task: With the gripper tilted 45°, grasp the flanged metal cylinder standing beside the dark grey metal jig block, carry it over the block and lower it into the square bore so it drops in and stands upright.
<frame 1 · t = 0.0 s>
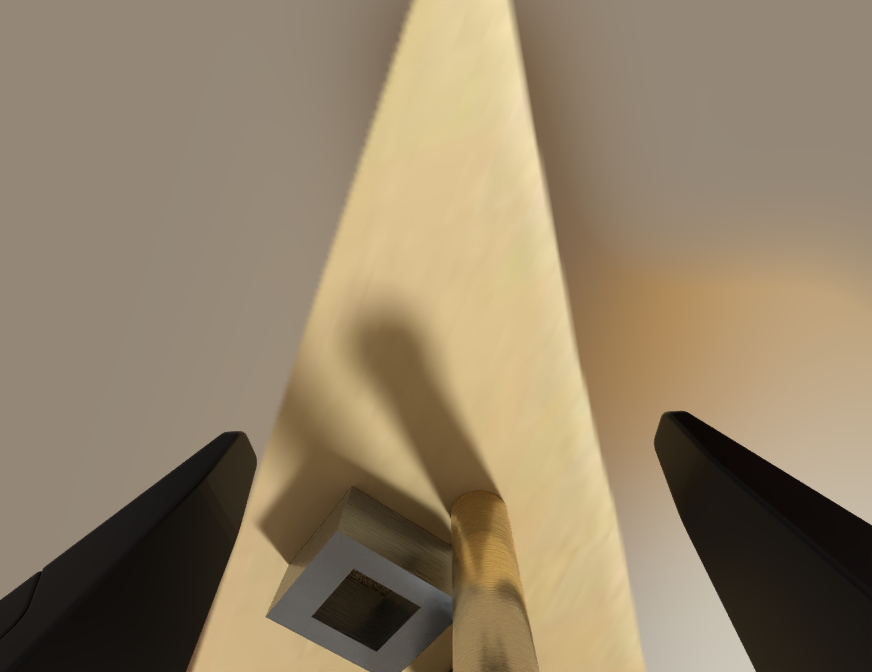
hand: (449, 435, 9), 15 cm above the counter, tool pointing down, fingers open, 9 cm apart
jig: (376, 560, 30), on the counter
flanged metal cylinder: (479, 514, 28), on the counter
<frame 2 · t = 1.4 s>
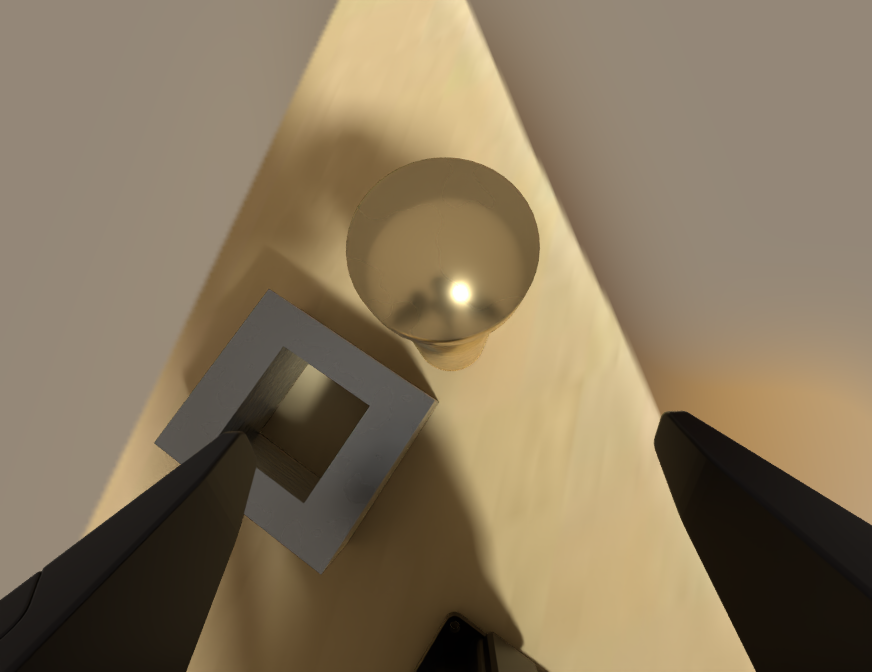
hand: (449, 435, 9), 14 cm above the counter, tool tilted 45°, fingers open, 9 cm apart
jig: (321, 419, 23), on the counter
flanged metal cylinder: (450, 336, 23), on the counter
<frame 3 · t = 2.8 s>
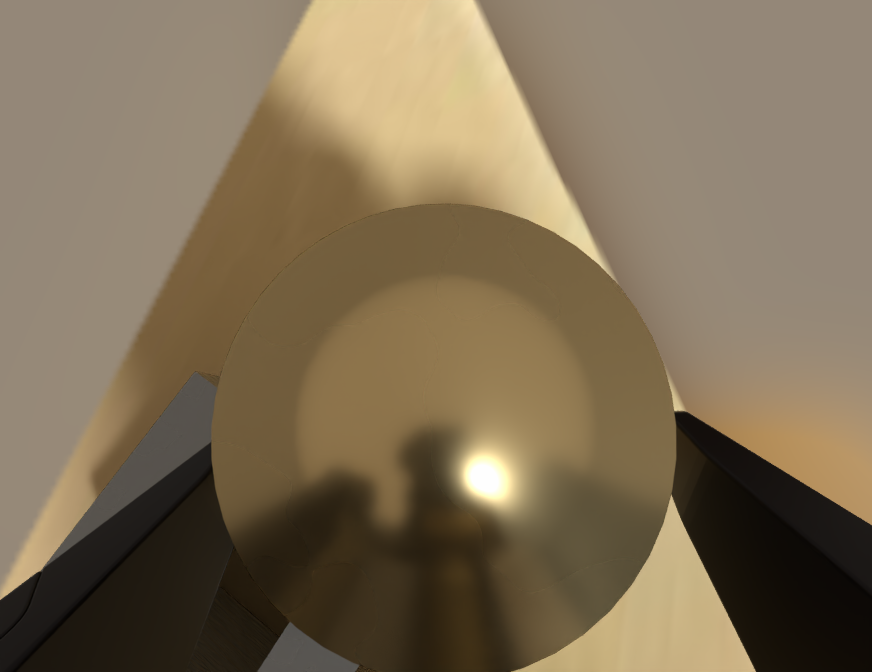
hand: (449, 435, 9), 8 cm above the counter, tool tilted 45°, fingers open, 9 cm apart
jig: (276, 542, 16), on the counter
flanged metal cylinder: (454, 423, 17), on the counter
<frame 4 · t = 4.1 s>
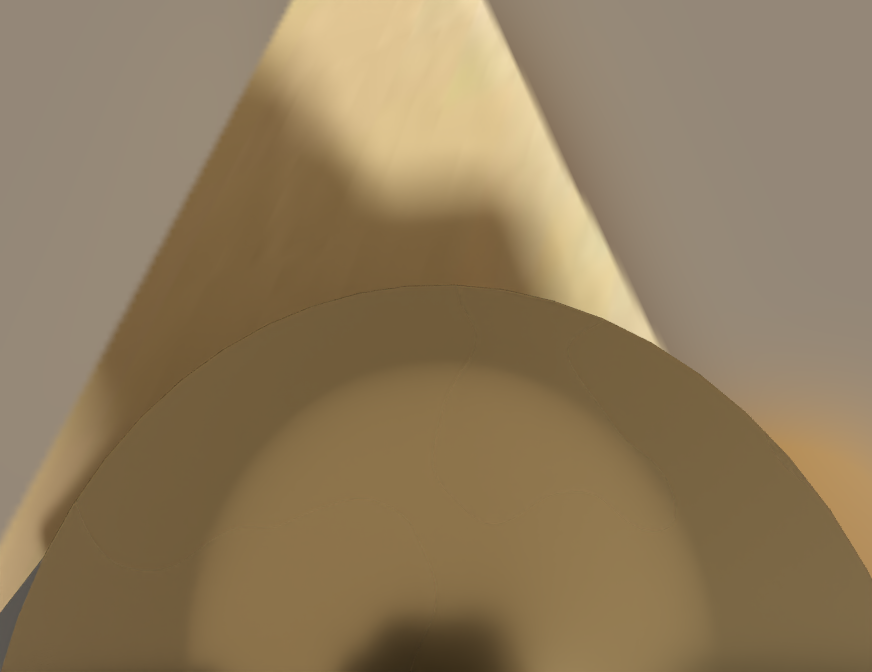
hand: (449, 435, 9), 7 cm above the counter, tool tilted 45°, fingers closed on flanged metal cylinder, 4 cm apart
jig: (251, 609, 14), on the counter
flanged metal cylinder: (455, 470, 15), on the counter, touching gripper
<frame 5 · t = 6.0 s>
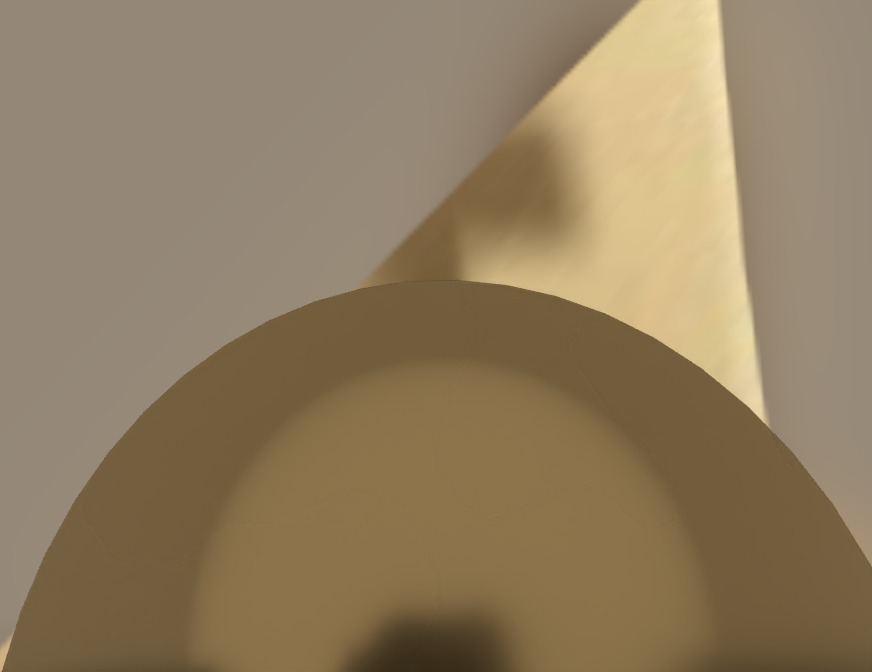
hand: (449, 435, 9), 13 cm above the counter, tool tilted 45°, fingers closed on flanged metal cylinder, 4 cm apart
flanged metal cylinder: (456, 469, 15), point 7 cm above the counter, touching gripper
when the fingers open (7 cm above the counter, at t = 7.9 s): flanged metal cylinder stays where it is, resting in jig.
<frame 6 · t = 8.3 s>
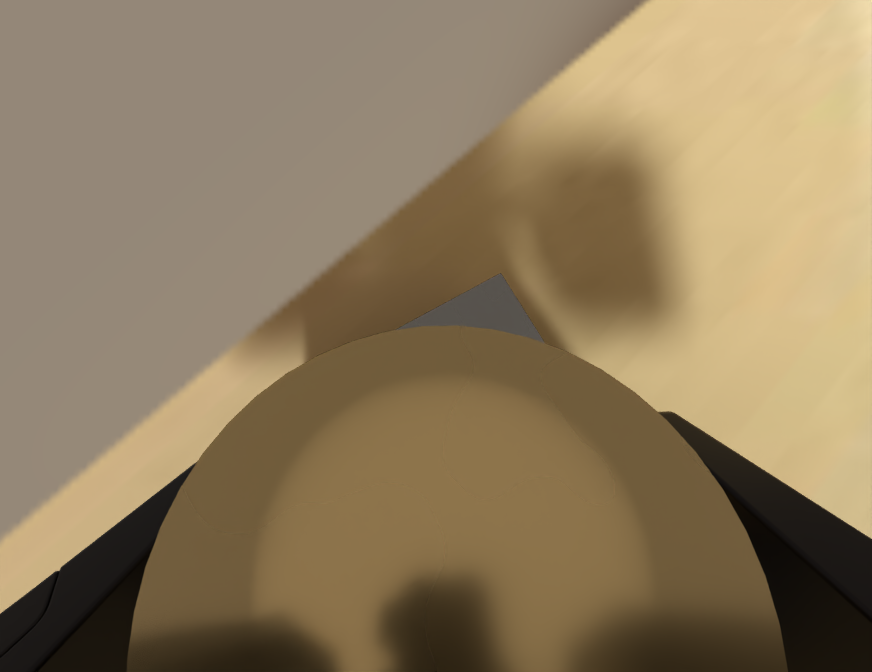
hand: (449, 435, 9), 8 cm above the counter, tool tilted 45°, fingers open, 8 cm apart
jig: (456, 467, 16), on the counter
flanged metal cylinder: (456, 468, 16), resting in jig
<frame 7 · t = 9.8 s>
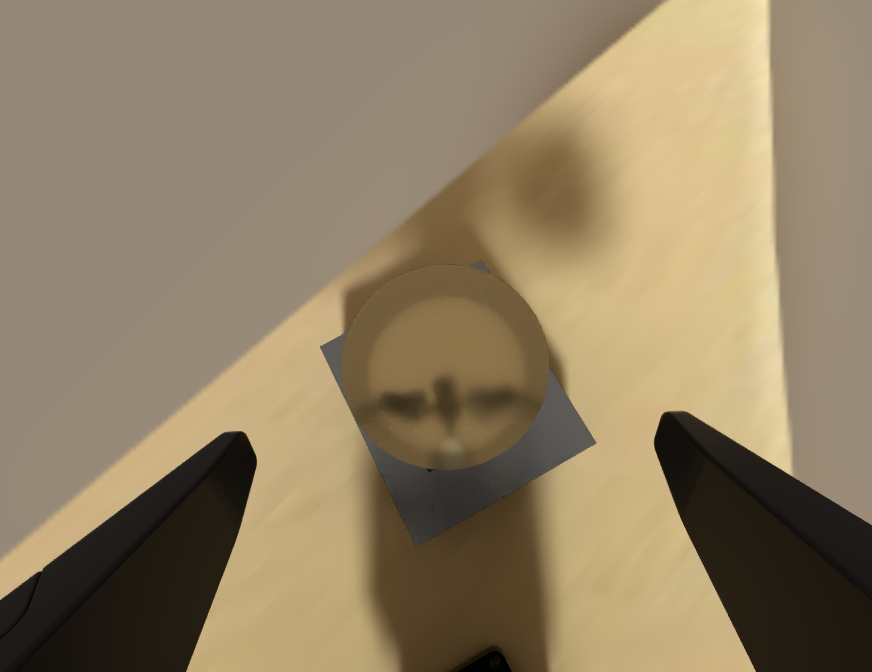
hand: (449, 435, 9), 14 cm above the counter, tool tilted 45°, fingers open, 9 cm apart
jig: (453, 398, 22), on the counter
flanged metal cylinder: (453, 399, 22), resting in jig
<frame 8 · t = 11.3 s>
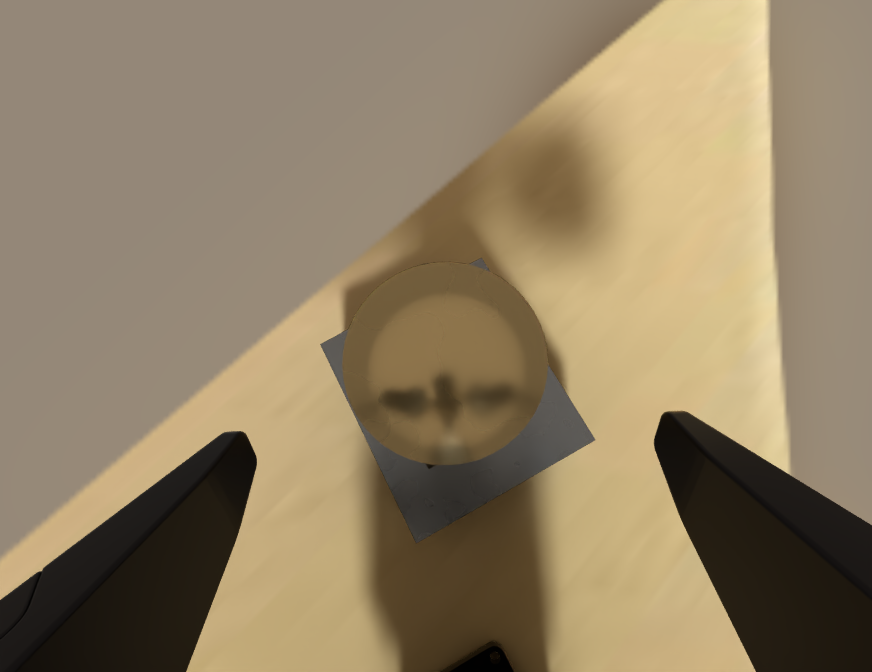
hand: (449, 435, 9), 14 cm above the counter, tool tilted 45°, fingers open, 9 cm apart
jig: (452, 396, 22), on the counter
flanged metal cylinder: (452, 397, 22), resting in jig
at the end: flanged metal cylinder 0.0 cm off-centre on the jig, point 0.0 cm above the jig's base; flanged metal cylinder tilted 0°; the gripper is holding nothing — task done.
